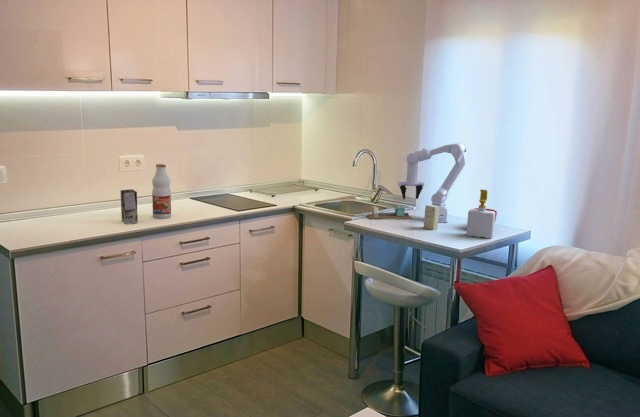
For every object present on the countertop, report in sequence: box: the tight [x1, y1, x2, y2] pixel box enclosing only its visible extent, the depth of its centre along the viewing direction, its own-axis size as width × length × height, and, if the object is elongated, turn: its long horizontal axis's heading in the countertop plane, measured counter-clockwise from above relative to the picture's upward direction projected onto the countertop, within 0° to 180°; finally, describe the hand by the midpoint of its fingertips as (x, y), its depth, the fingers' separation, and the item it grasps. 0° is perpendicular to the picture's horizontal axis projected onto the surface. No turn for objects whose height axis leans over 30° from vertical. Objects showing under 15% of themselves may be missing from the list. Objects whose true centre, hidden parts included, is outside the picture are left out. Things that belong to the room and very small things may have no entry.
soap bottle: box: [465, 189, 496, 239], centre depth 286 cm, size 12×7×23 cm, turn 66°
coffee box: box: [120, 188, 139, 225], centre depth 295 cm, size 9×6×16 cm
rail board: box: [366, 205, 413, 220], centre depth 325 cm, size 9×24×6 cm, turn 100°
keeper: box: [394, 205, 406, 216], centre depth 326 cm, size 5×4×5 cm
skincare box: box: [423, 204, 440, 231], centre depth 300 cm, size 6×4×12 cm
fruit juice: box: [151, 163, 172, 220], centre depth 307 cm, size 9×9×28 cm
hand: (410, 198), depth 327 cm, fingers open, 7 cm apart
